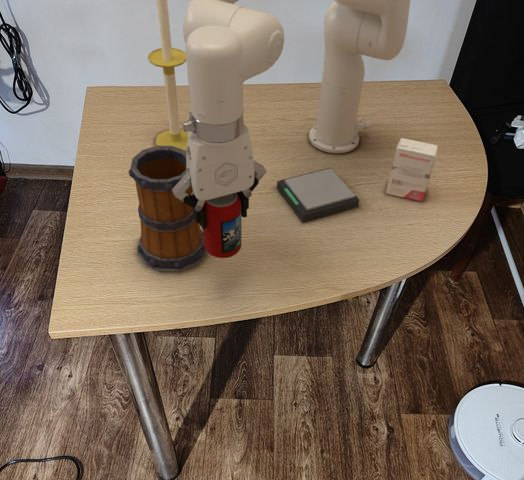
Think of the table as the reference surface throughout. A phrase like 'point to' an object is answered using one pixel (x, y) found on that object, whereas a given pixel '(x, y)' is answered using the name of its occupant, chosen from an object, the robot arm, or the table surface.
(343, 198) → the scale
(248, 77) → the robot arm
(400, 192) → the ink box
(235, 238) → the beverage can
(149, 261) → the mug
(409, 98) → the table surface
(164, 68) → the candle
